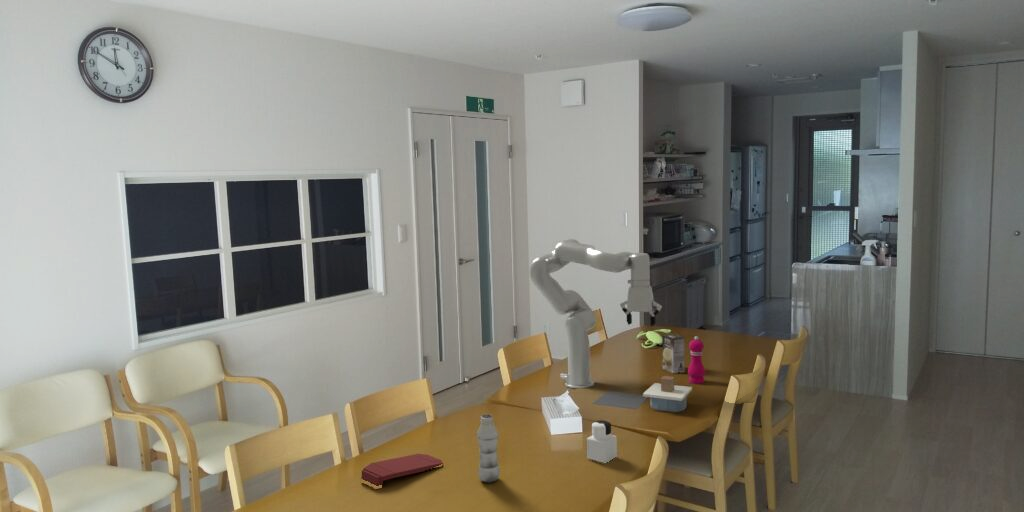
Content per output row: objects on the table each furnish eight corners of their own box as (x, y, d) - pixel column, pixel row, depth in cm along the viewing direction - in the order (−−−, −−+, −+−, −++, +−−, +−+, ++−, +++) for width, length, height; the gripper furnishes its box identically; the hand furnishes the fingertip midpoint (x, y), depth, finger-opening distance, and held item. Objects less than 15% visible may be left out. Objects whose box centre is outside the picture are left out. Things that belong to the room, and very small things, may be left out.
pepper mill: (705, 384, 305) (705, 338, 302) (688, 384, 306) (687, 338, 304) (704, 379, 312) (704, 334, 309) (687, 379, 313) (687, 334, 311)
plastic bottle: (499, 475, 221) (497, 412, 219) (500, 484, 214) (497, 419, 212) (478, 476, 221) (476, 413, 219) (478, 485, 214) (475, 420, 212)
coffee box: (661, 369, 331) (661, 334, 329) (673, 367, 333) (673, 333, 331) (673, 373, 322) (673, 338, 320) (685, 371, 325) (685, 337, 323)
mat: (591, 404, 284) (591, 403, 284) (608, 391, 299) (608, 390, 299) (635, 410, 275) (635, 409, 275) (650, 396, 291) (650, 395, 291)
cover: (642, 396, 275) (642, 380, 274) (654, 385, 288) (654, 370, 287) (681, 400, 268) (681, 385, 267) (692, 389, 281) (692, 374, 280)
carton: (420, 467, 239) (357, 481, 221) (421, 452, 239) (358, 465, 221) (444, 477, 230) (380, 492, 212) (446, 461, 230) (381, 475, 212)
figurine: (669, 336, 395) (669, 326, 394) (679, 348, 368) (678, 337, 367) (635, 337, 395) (635, 327, 395) (642, 349, 369) (642, 338, 368)
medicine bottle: (598, 452, 236) (597, 417, 235) (617, 457, 231) (616, 421, 230) (586, 459, 230) (585, 423, 229) (605, 464, 226) (604, 427, 225)
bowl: (646, 409, 276) (646, 395, 275) (656, 399, 287) (656, 386, 287) (680, 414, 269) (680, 399, 269) (689, 403, 281) (689, 389, 280)
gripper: (616, 284, 293) (617, 325, 295) (658, 285, 285) (659, 328, 287) (623, 281, 300) (623, 321, 302) (663, 282, 292) (664, 324, 294)
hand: (641, 324), depth 294 cm, fingers open, 9 cm apart
